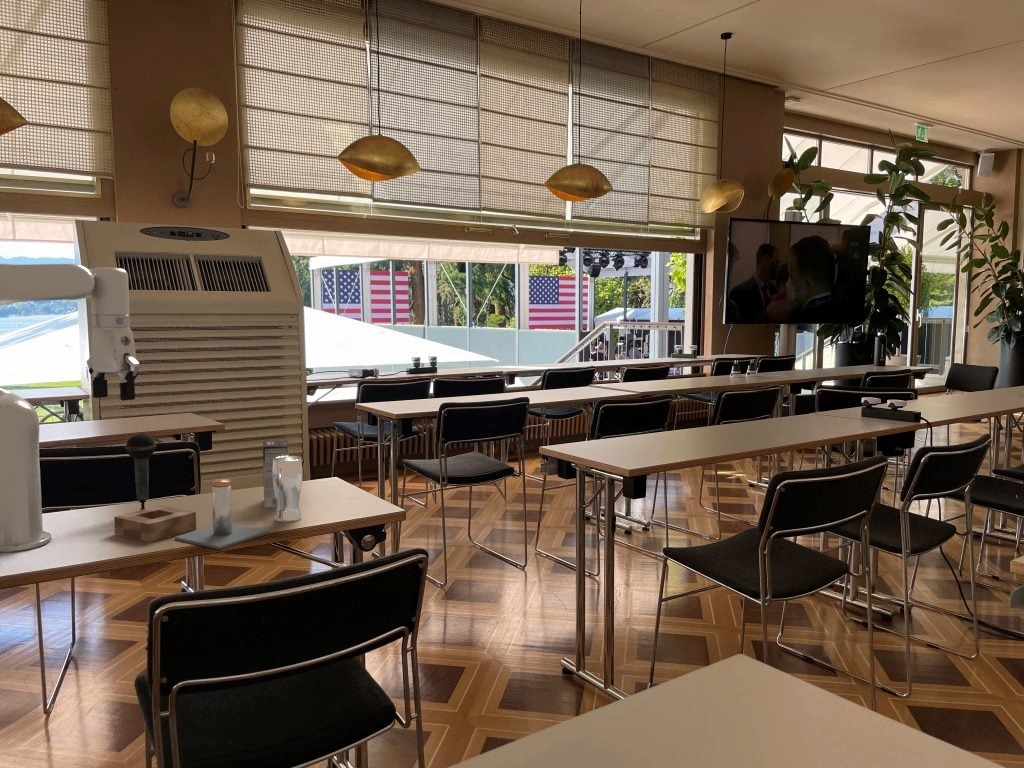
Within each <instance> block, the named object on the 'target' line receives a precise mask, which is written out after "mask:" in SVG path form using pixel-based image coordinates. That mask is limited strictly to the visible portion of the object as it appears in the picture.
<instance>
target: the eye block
mask: <svg viewBox="0 0 1024 768" xmlns="http://www.w3.org/2000/svg"><path fill="white" fill-rule="evenodd" d="M196 516H197V512H196V511H194V510H193V511H192V510H188V509H182V508H176V507H173V506H172V507H171V506H166V505H156V506H153V507H149V508H145V509H144V510H137V511H133V512H129V513H125V514H120V515H116V516H114V519H113V520H114V534H115V535H116V536H117V535H118V536H121V537H126V538H130V539H135V540H139V541H143V542H148V543H152V542H155V541H159V540H163V539H166V538H169V537H173V536H177V535H181V534H182V533H183V534H185V533H186V532H187V533H188V532H191V531H195V530H196V529H197V517H196Z"/></svg>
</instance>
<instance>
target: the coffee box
mask: <svg viewBox="0 0 1024 768" xmlns="http://www.w3.org/2000/svg"><path fill="white" fill-rule="evenodd" d="M289 454H290V453H289V442H288V440H287V439H285V440H278V439H276V440H275V439H273V440H263V441H262V472H263V473H262V476H263V499H264V500H263V501H264V502H263V503H264V505H263V506H264V508H267V509H268V508H277V502H276V496H275V491H274V486H273V459H274V458H276V457H281V456H290V455H289Z"/></svg>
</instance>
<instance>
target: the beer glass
mask: <svg viewBox="0 0 1024 768" xmlns="http://www.w3.org/2000/svg"><path fill="white" fill-rule="evenodd" d="M273 486H274V491H275V496H276V502H277V507H276V511H275V516H274V518H275V521H276V522H279V523H291V522H297V521H299V519H300V520H301V519H302V513H301V510H300V508H301V507H300V500H301V499H300V498H301V491H302V486H303V465H302V457H301V456H299V455H297V456H296V455H289V456H281V457H276V458H274V459H273Z"/></svg>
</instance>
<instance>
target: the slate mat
mask: <svg viewBox="0 0 1024 768" xmlns="http://www.w3.org/2000/svg"><path fill="white" fill-rule="evenodd" d="M267 534H270V529H264V528H263V529H262V528H259V527H253V526H249V525H243V524H238V523H233V522H232V534H230V535H226V536H214V535H213V525H211V526H207V527H204V528H201V529H198V530H193V531H189V532H187V533H183V534H179V535H178V536H177V535H175V536H174V540H176V541H180V542H185V543H189V544H193V545H199V546H202V547H207V548H212V549H216V550H222V549H225V548H228V547H231V546H234V545H237V544H240V543H243V542H247V541H249V540H252V539H255V538H258V537H261V536H264V535H267Z"/></svg>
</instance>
